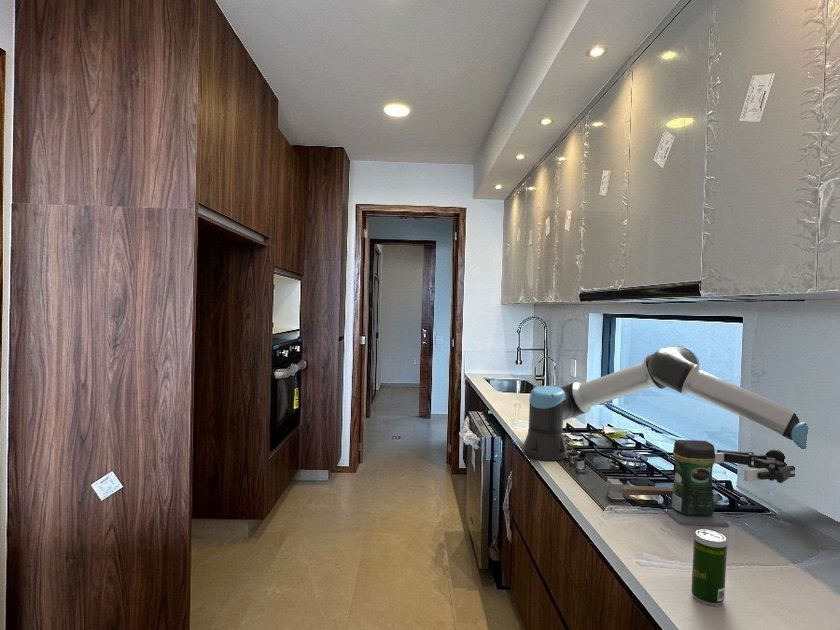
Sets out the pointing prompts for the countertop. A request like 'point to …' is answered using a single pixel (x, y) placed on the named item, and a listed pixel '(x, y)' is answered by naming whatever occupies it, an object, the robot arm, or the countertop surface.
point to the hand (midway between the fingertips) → (723, 466)
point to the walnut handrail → (634, 490)
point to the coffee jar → (693, 477)
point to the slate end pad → (697, 519)
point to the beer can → (709, 567)
